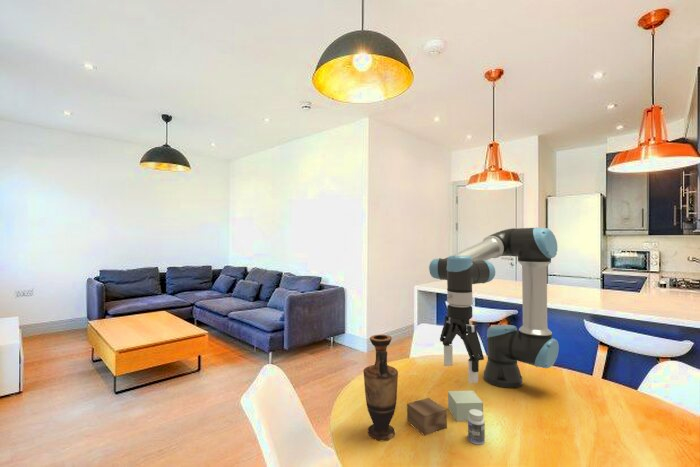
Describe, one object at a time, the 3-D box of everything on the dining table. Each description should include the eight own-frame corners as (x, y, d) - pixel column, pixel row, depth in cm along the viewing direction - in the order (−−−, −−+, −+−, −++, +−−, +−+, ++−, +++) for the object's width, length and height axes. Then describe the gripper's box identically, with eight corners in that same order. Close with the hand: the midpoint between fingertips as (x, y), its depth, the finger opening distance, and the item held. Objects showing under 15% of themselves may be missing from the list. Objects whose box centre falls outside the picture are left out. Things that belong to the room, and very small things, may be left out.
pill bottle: (465, 440, 103) (465, 412, 103) (472, 433, 106) (471, 406, 106) (481, 447, 100) (480, 418, 100) (487, 439, 103) (486, 411, 103)
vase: (363, 423, 113) (363, 332, 113) (396, 424, 112) (395, 332, 113) (364, 443, 102) (363, 342, 102) (400, 444, 101) (399, 342, 102)
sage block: (472, 407, 123) (472, 390, 123) (483, 420, 114) (483, 402, 114) (448, 408, 122) (447, 391, 123) (456, 421, 113) (456, 403, 114)
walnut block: (428, 415, 118) (428, 397, 118) (447, 428, 110) (446, 409, 110) (407, 421, 114) (407, 403, 114) (424, 435, 106) (424, 416, 106)
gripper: (429, 298, 118) (429, 360, 117) (473, 313, 94) (473, 391, 93) (448, 297, 120) (449, 358, 119) (496, 312, 96) (497, 388, 95)
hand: (460, 373), depth 106 cm, fingers open, 13 cm apart
